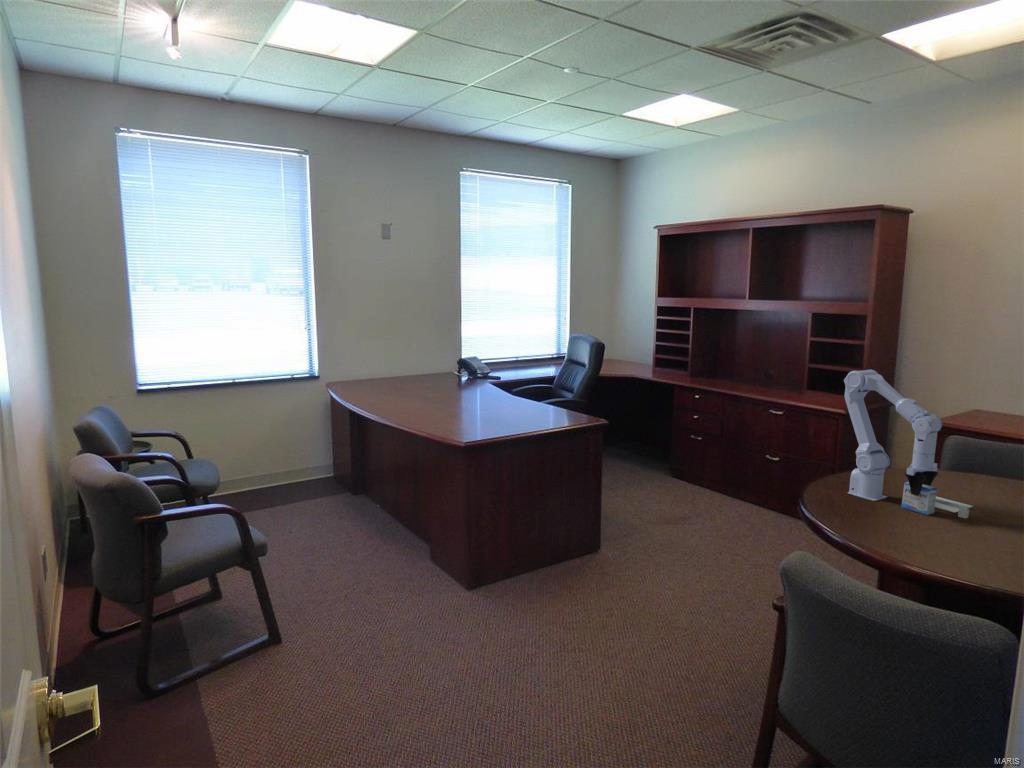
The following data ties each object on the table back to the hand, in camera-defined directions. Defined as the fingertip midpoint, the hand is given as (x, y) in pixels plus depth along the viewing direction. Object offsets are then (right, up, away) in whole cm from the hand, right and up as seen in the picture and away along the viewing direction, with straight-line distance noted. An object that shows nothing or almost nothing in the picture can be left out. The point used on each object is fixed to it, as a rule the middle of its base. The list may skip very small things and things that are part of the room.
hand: (919, 493), depth 193 cm
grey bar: (+7, -3, +2) cm, 8 cm away
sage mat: (+12, -5, +8) cm, 15 cm away
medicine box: (0, -6, +1) cm, 6 cm away
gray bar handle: (+7, -6, +2) cm, 9 cm away
